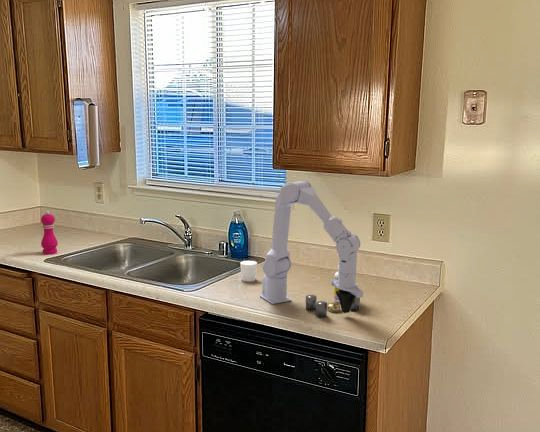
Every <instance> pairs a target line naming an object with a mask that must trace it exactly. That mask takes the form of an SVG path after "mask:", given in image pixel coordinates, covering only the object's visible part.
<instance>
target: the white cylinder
mask: <svg viewBox="0 0 540 432" xmlns="http://www.w3.org/2000/svg"><path fill="white" fill-rule="evenodd" d="M239 264H240V277H241V281H243V282H249V283H250V282H254V281H256V278H257V268H258V262H257V261H255V260H242V261H240V262H239Z"/></svg>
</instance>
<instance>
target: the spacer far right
mask: <svg viewBox="0 0 540 432" xmlns="http://www.w3.org/2000/svg"><path fill="white" fill-rule="evenodd" d="M327 304H328V302H327V301H323V300H320V301H316V310H315V317H316V318H318V319H319V318H320V319H326V318H327V316H328V311H327ZM325 317H326V318H325Z"/></svg>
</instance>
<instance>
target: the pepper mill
mask: <svg viewBox="0 0 540 432" xmlns="http://www.w3.org/2000/svg"><path fill="white" fill-rule="evenodd" d="M55 221H56V217H55V216H54V215H53V214H51V213H50V211H49V210H46V211H45V213H44V215H42V216H41V217H40V222H41V224H42V225H41V226H42V229H43V236H42V239H41V242H40V247H42V248H43V249H42V254H43V255H50V256H51V255H55V254H57V253H58V249H57V246H58V245H59V242H58V239H57V238H56V235H55V234H54V228H55Z"/></svg>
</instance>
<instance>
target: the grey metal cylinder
mask: <svg viewBox="0 0 540 432" xmlns="http://www.w3.org/2000/svg"><path fill="white" fill-rule="evenodd" d="M360 306H361V297H360V298H357V297H355V299H354V300H353V303H352V305H351V308H350V311H351V312H359V311H360V309H361V307H360Z"/></svg>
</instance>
